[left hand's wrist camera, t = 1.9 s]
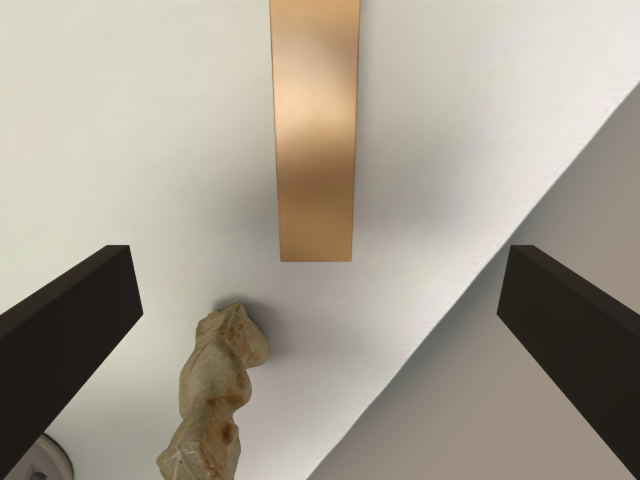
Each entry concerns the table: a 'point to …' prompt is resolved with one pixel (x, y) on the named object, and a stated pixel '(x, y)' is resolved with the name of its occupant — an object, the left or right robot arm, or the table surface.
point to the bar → (315, 125)
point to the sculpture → (214, 397)
